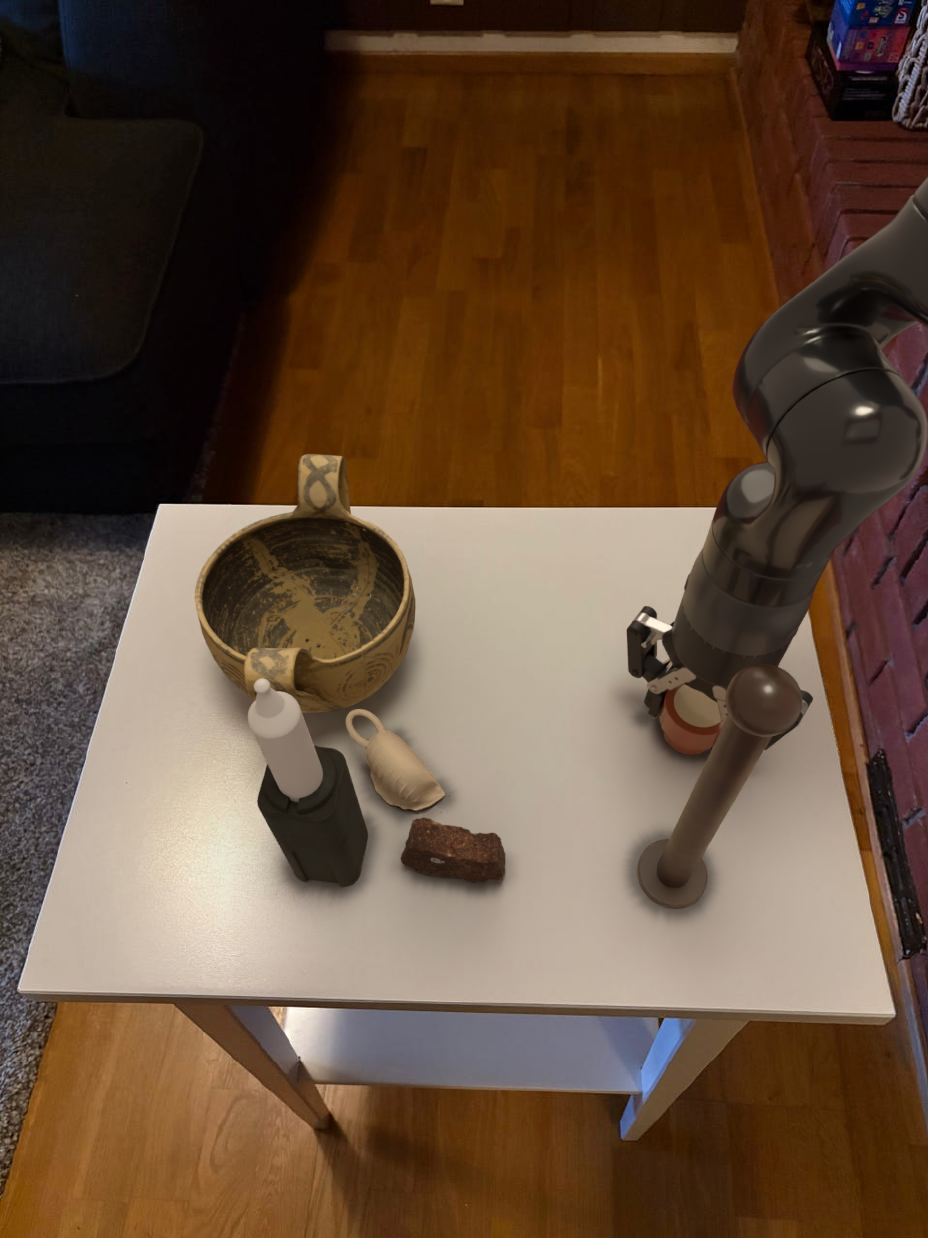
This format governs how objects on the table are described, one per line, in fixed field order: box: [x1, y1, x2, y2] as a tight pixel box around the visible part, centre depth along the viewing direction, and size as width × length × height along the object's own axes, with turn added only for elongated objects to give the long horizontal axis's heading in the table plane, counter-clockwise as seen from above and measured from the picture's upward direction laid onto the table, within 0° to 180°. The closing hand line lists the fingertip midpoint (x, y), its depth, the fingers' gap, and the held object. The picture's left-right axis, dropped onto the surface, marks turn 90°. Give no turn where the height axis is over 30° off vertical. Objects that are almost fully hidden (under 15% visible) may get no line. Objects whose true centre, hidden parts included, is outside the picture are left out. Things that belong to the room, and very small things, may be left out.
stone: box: [400, 817, 506, 884], centre depth 63 cm, size 8×3×5 cm, turn 80°
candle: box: [247, 678, 369, 888], centre depth 56 cm, size 5×5×25 cm
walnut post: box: [637, 664, 802, 909], centre depth 53 cm, size 5×5×28 cm
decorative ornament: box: [345, 708, 446, 812], centre depth 67 cm, size 4×8×5 cm, turn 37°
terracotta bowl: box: [658, 684, 725, 756], centre depth 69 cm, size 5×5×5 cm
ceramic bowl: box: [194, 453, 416, 713], centre depth 69 cm, size 22×17×15 cm
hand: (689, 727), depth 70 cm, fingers closed on terracotta bowl, 5 cm apart
